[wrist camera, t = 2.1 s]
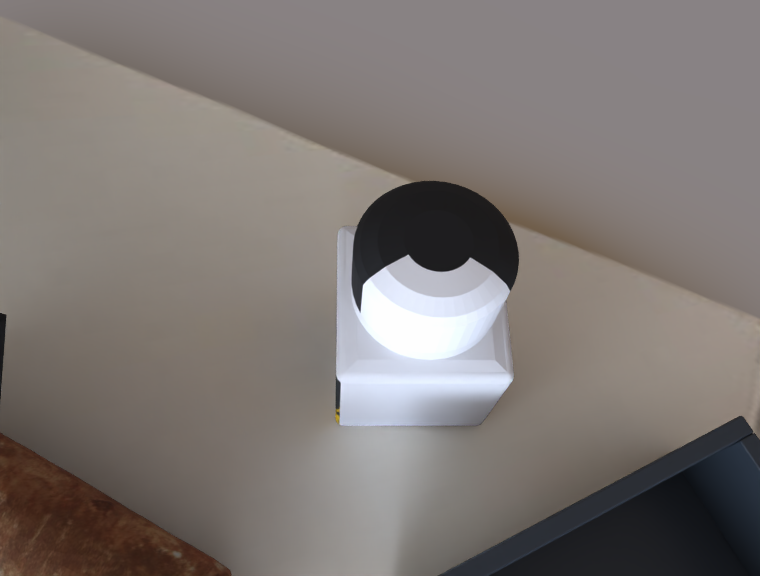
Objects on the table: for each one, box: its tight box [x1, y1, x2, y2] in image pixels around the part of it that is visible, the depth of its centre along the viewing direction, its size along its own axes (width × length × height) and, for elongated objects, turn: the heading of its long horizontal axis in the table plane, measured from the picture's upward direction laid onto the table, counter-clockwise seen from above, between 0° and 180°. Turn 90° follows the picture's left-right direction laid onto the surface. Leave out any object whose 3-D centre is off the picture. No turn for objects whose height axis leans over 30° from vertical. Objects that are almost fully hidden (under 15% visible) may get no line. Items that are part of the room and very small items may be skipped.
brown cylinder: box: [0, 433, 231, 576], centre depth 29 cm, size 6×19×6 cm, turn 64°
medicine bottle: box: [336, 181, 519, 426], centre depth 30 cm, size 7×7×12 cm
